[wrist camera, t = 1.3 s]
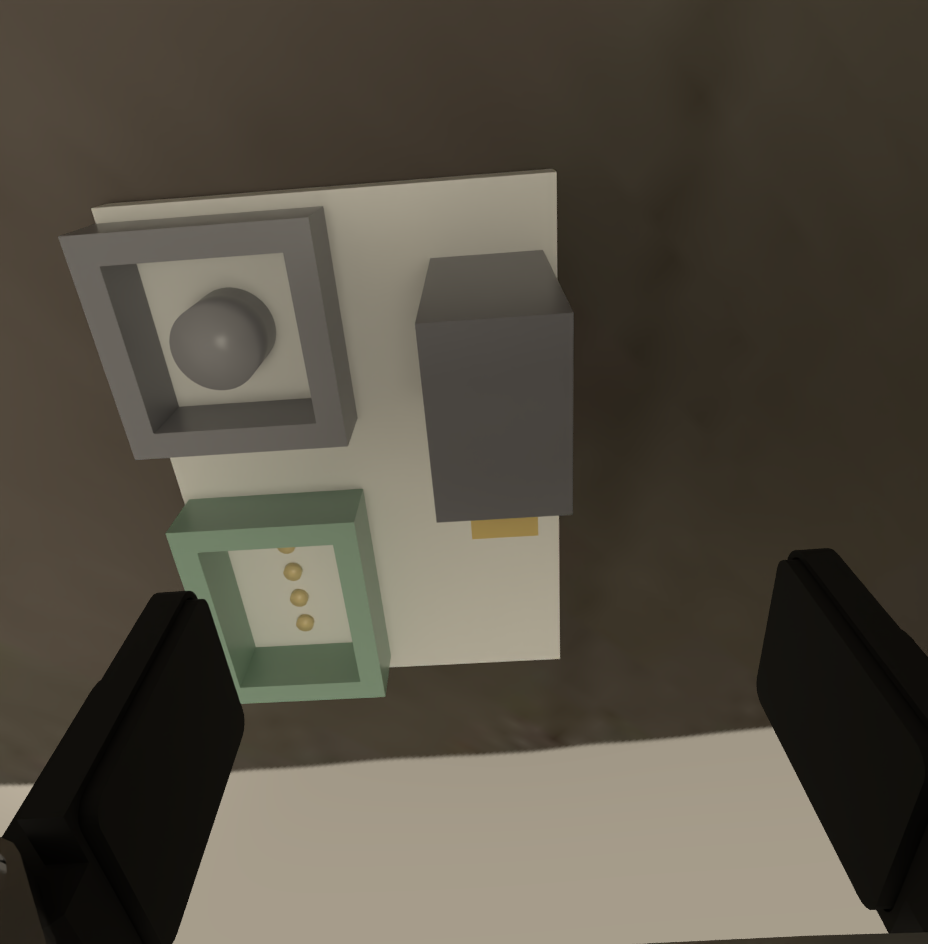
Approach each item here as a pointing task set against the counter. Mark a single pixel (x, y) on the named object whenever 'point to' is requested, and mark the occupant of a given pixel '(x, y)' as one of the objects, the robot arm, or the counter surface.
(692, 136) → the counter surface
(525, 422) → the plug
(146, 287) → the board
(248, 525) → the green rectangular frame
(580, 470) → the counter surface
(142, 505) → the counter surface
